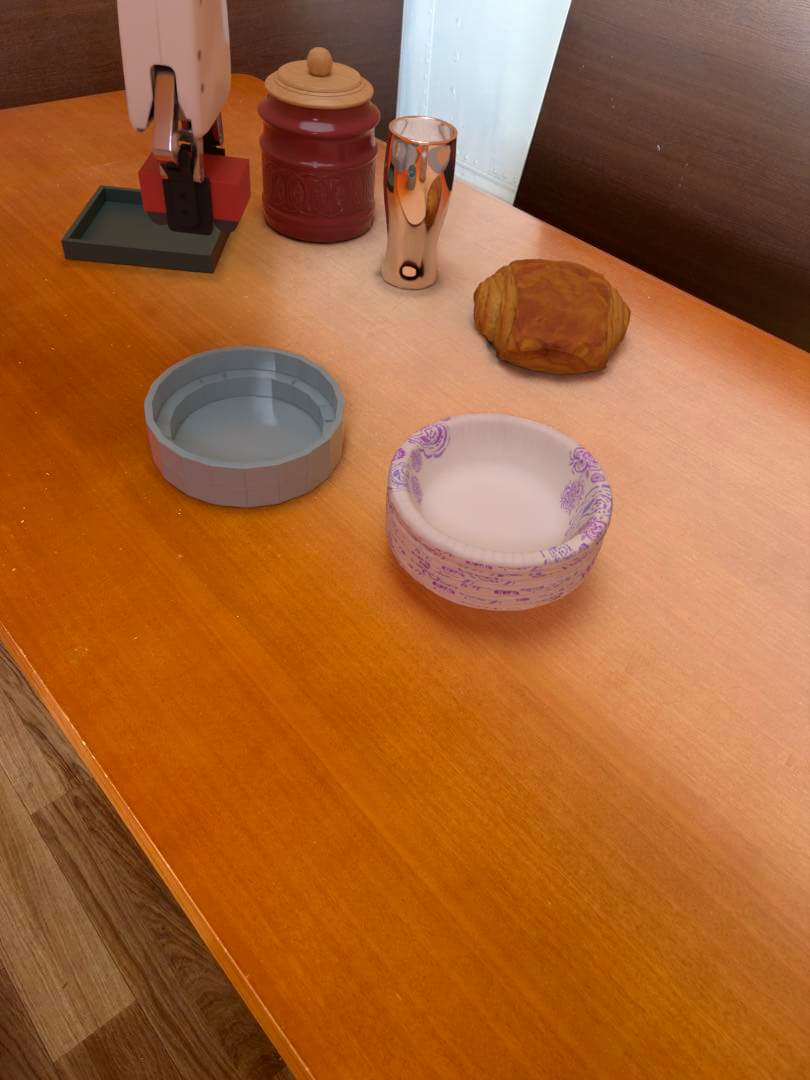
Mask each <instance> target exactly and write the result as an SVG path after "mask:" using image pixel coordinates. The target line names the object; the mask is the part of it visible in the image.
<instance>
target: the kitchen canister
mask: <svg viewBox="0 0 810 1080" xmlns="http://www.w3.org/2000/svg"><path fill="white" fill-rule="evenodd" d="M264 88H265V90H266V92H267V93H268V94H266V95H265V96H263V97H262V98H261V99H260V100H259V102H258V104H257V108H256V109H257V113H258V116H259V117H260V118H261V120H262V121H263V122H262V124H263V125H262V126H263V127H262V132H261V134H260V135H259V138H258V144H259V147H260V152H261V155H260V156H261V174H262V175H261V176H262V193H261V200H262V202H261V206H262V210H263V212H264V217H265V221H266V222H267V223H268V225H269V226H270V227H271V228H272V229H273V230H275V231H276V232H278V233H280V234H282V235H284V236H286V237H288V238H292V239H295V240H299V241H304V242H310V243H311V242H312V243H336V242H337V243H338V242H343V241H344V242H345V241H347V240H351V239H354V238H356V237H359V236H361V235H363V234H364V233H365V232H367V231H368V230H369V229H370V227H371V226H372V223H373V217H374V215H375V212H376V198H375V191H376V190H375V189H376V188H375V187H376V170H377V155H378V153H379V143H378V141H377V139H376V138H375V137H376V135H375V133H376V132H375V130H376V129H375V128H376V127H377V125H378V124H379V123H380V120H381V112H380V110H379V108H378V107H377V105H376V104H375V103H374V102H372V101H371V99H372V98H373V96H374V92H375V91H374V86H373V85H372V84H371V83H370V82H369V81H368V80H367V79H366V78H365V77H364V76H363V77H362V76H361V73H360V72H358V71H357V70H356V69H354V68H353V67H351V66H348V65H347V64H343V63H341V62H335V61H333V57H332V55H331V53H330V51H329V50H328V49H326V48H325V47H322V46H316V47H313V48H311V49H310V50H309V52H308V53H307V56H306V59H301V60H294V61H290V62H287V63H284V64H282V66H280V67H278V70H276V71H274V72H272V73H271V74H269V75H268V76H267V77H266V78H265V80H264Z"/></svg>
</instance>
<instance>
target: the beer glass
mask: <svg viewBox="0 0 810 1080" xmlns="http://www.w3.org/2000/svg"><path fill="white" fill-rule="evenodd" d="M387 132H388V133H387V140H386V147H385V153H384V161H383V162H384V163H383V178H382V189H383V206H384V212H385V222H386V248H385V254H384V257H383V259H382V264H381V269H380V272H381V273H380V274H381V277H382V278H383V279H384V281H385V282H387V283H388V284H390V285H391V286H394V287H396V288H400V289H405V290H421V289H426V288H428V287H431V286H432V285H433V284H435V283H436V281H437V279H438V262H437V261H438V260H437V254H438V253H437V252H438V251H437V250H438V244H439V239H440V235H441V231H442V228H443V226H444V221H445V218H446V215H447V212H448V208H449V205H450V201H451V198H452V193H453V188H454V184H455V183H454V182H455V175H456V165H457V148H458V147H457V146H458V136H459V135H458V134H459V133H458V132H459V131H458V130H457V128H456V127H455V126H454V125H453V124H451V123H450V122H448V121H446V120H443V119H440V118H437V117H433V116H426V115H405V116H404V115H403V116H400V117H397V118H395V119H393V120H391V121H390V122H389V124H388V131H387Z"/></svg>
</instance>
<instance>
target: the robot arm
mask: <svg viewBox="0 0 810 1080" xmlns="http://www.w3.org/2000/svg"><path fill="white" fill-rule="evenodd" d="M116 7H117V8H116V10H117V19H118V31H119V42H120V51H121V60H122V71H123V77H124V78H123V79H124V87H125V88H124V89H125V96H126V97H125V98H126V105H127V106H126V107H127V113H128V119H129V124H130V126H131V127H132V129H133V130H134V131H135V132H137V133H144V132H145V131H146V130H147V129H148V128H149V126H150V125H151V123H152V122H153V130H152V151H153V155H154V158H155V159H156V160H157V161H159V164H160V175H161V178H162V183H163V191H164V198H165V206H166V214H167V221H168V227H169V229H170V230H171V231H174V232H182V233H191V234H199V235H211V234H212V231H213V229H214V225H213V214H212V202H211V191H210V179H209V178H205V177H204V155H203V153H204V154H212V155H220V156H226V148H223V146H224V142H225V139H224V138H225V133H224V125H223V117H222V110H223V108H224V106H225V104H226V102H227V100H228V98H229V95H230V92H231V85H232V82H231V81H232V63H231V61H232V60H231V41H230V27H229V14H228V12H229V11H228V2H227V0H116ZM179 121H180V125H181V128H180V127H179ZM179 142H184V143H179ZM188 152H192V158H191V157H190V155H189V153H188Z"/></svg>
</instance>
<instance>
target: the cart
mask: <svg viewBox="0 0 810 1080" xmlns="http://www.w3.org/2000/svg"><path fill="white" fill-rule="evenodd" d="M188 153H189V155H190V157H191V158H192V152H188ZM203 155H204V177H205V178H209V179H210V191H211V202H212V214H213V221H214V224H215V226H216V227H217V228H218V229H219V230H220V231H222V232H225V233H229V234H230V233H233V232H235V230H236V229H237V228H238V226H239V224H240V223H241V222H240V221H241V220H242V217H243V215H244V213H245V210H246V208H247V206H248V203H249V201H250V199H251V197H252V187H251V169H250V168H251V167H250V158H245V157H243V158H242V157H237V156H228V155H225V156H220V155H212V154H204V153H203ZM137 174H138V181H139V187H140V188H139V189H141V195H142V202H143V209H144V211H147V214H148V216H149V218H150V219H151V220H152V221H153V222H154V223H156V224H158V225H167V224H168V221H167V214H166V206H165V198H164V191H163V183H162V178H161V175H160V164H159V161H157V160H156V159H155V158H154V155H153V150H152V151H151V152H150V153H149V155H148V157H147V159H145V161H144V163H143V164H142V166H141V167H140V169H139V170H138V172H137Z"/></svg>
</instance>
